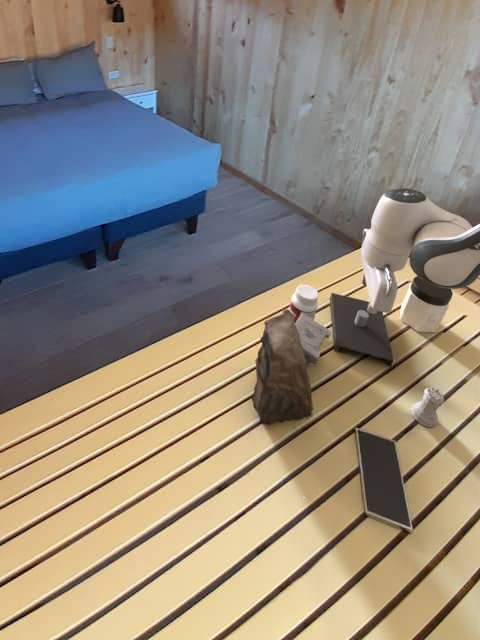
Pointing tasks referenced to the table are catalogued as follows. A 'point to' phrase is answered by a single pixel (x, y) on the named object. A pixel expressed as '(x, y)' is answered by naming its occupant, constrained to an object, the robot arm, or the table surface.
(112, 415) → the table surface
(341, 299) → the lid
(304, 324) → the incense holder
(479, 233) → the robot arm
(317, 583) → the table surface
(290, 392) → the brown rock
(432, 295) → the jar
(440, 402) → the rook chess piece
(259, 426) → the table surface
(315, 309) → the pill bottle
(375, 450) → the phone
